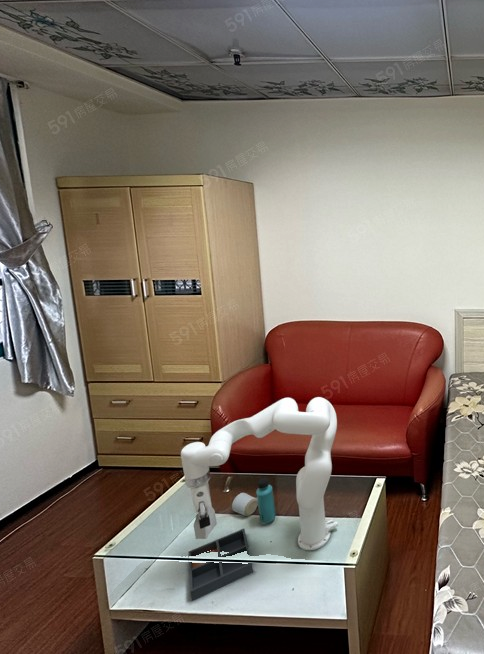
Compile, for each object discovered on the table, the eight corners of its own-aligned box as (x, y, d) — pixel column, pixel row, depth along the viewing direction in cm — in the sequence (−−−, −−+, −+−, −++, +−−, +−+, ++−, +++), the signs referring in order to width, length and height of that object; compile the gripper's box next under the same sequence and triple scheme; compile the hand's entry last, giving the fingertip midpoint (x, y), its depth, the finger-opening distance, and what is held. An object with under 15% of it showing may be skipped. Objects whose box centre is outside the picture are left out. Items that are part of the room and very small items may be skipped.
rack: (245, 536, 167) (244, 528, 166) (253, 572, 151) (252, 563, 150) (189, 560, 156) (188, 551, 155) (191, 601, 141) (190, 591, 140)
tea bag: (216, 523, 153) (213, 501, 151) (206, 538, 147) (202, 515, 144) (207, 523, 153) (203, 501, 151) (195, 538, 147) (191, 515, 144)
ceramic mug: (246, 520, 175) (244, 505, 173) (232, 515, 178) (230, 499, 176) (265, 503, 184) (264, 489, 183) (252, 498, 187) (250, 484, 186)
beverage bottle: (279, 515, 178) (274, 475, 173) (271, 527, 171) (266, 486, 167) (265, 514, 178) (260, 474, 174) (256, 526, 172) (251, 485, 167)
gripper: (211, 487, 140) (218, 530, 144) (207, 460, 154) (214, 500, 158) (186, 496, 136) (193, 540, 140) (184, 467, 150) (191, 508, 154)
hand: (204, 518), depth 149 cm, fingers closed on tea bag, 7 cm apart
